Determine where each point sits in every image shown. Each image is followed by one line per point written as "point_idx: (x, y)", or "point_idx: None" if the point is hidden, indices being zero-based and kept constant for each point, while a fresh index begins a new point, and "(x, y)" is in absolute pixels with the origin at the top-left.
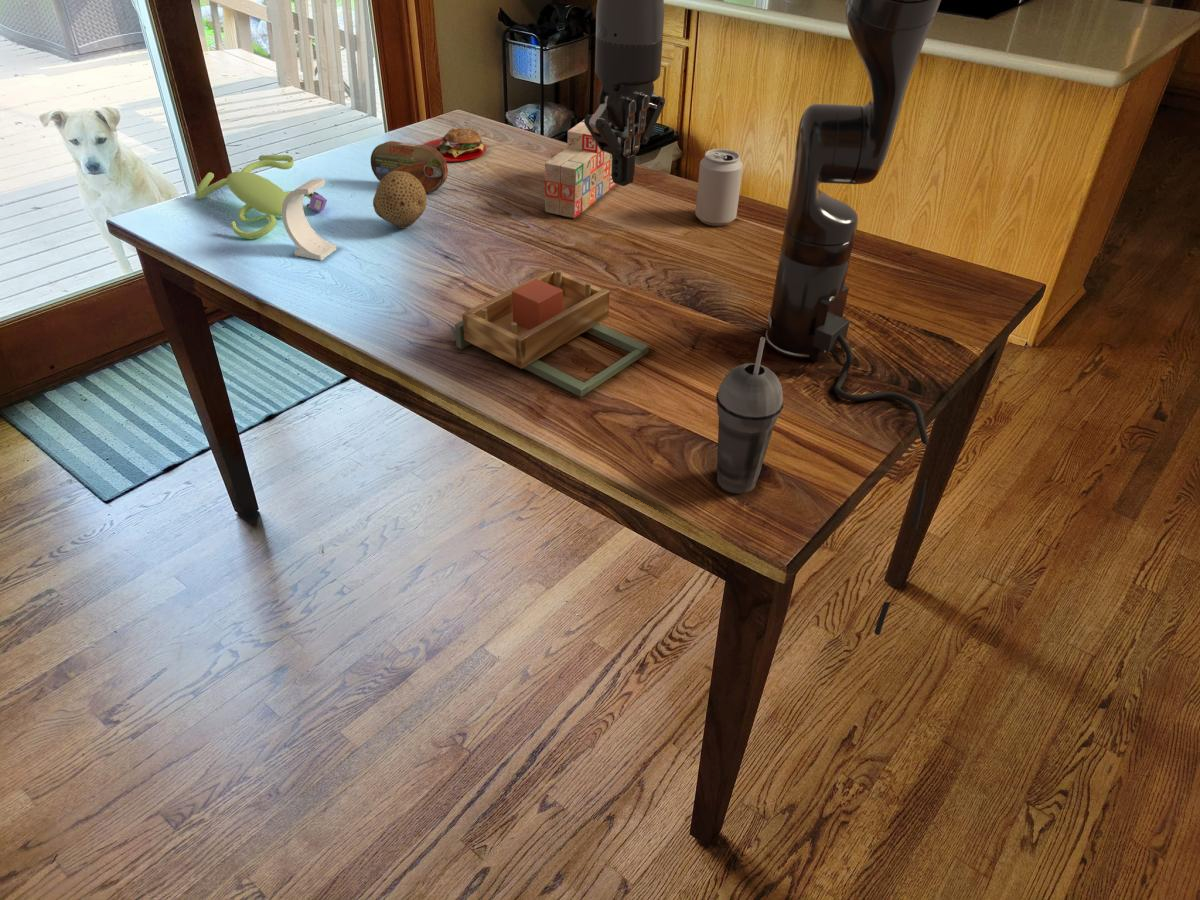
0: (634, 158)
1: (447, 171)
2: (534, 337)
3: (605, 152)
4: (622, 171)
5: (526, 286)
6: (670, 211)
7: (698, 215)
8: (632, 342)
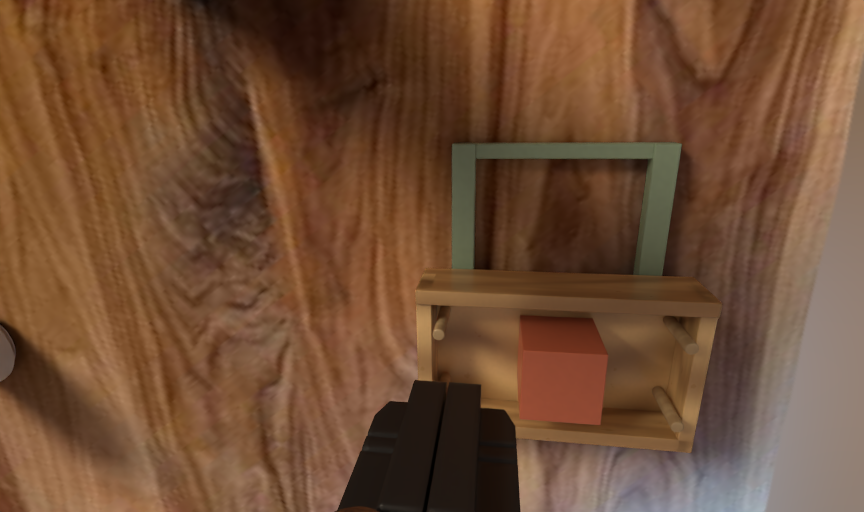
0: (356, 485)
1: None
2: (671, 296)
3: None
4: (497, 454)
5: (562, 414)
6: (37, 415)
7: (9, 366)
8: (463, 177)
